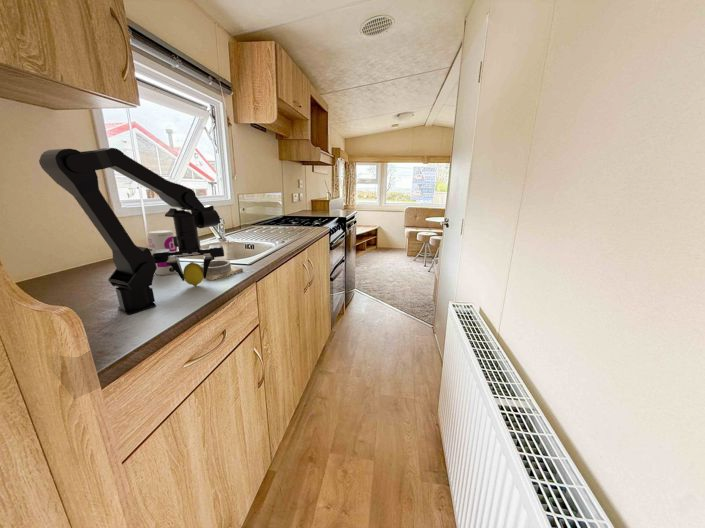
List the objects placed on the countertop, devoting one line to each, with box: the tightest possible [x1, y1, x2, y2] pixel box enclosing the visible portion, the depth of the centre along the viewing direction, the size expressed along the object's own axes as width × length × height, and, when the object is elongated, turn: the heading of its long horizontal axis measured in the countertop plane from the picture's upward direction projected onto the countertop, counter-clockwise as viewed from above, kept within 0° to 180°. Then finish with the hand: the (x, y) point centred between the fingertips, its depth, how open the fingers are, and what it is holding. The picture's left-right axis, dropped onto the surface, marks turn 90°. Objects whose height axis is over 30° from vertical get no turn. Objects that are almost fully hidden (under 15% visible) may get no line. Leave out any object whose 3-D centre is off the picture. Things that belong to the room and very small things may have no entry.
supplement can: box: [146, 229, 179, 276], centre depth 99 cm, size 8×8×15 cm
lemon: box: [182, 261, 204, 287], centre depth 87 cm, size 6×6×8 cm
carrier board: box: [199, 259, 244, 281], centre depth 102 cm, size 12×15×4 cm
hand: (194, 279), depth 88 cm, fingers closed on lemon, 5 cm apart
